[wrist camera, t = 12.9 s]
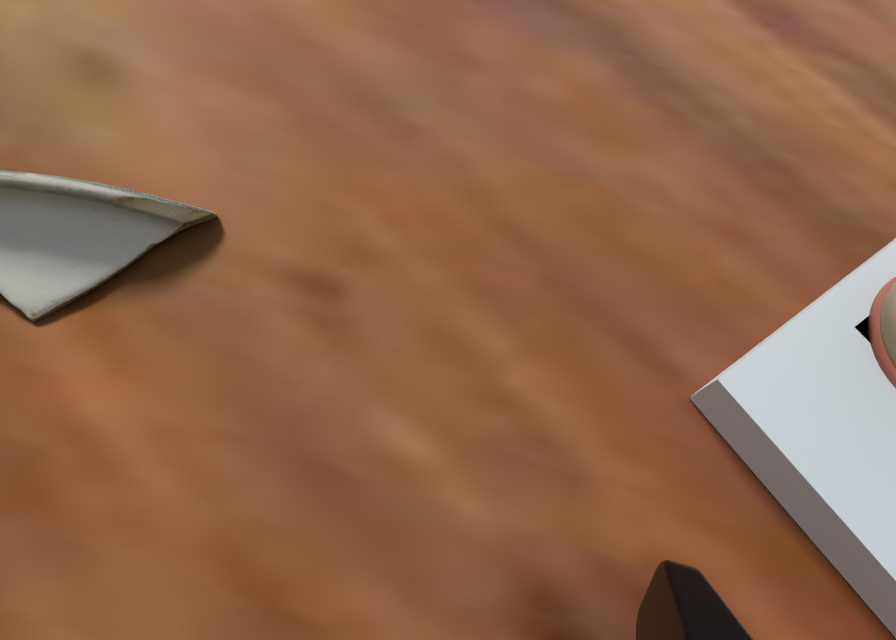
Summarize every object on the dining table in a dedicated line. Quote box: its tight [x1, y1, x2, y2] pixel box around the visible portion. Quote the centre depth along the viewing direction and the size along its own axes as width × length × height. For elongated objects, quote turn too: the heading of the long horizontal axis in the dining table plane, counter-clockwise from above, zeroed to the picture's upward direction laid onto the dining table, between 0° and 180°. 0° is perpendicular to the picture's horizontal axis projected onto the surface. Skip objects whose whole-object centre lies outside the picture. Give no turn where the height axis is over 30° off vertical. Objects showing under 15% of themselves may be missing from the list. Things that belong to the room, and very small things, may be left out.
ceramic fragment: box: [0, 170, 217, 322], centre depth 23 cm, size 14×5×4 cm, turn 85°
